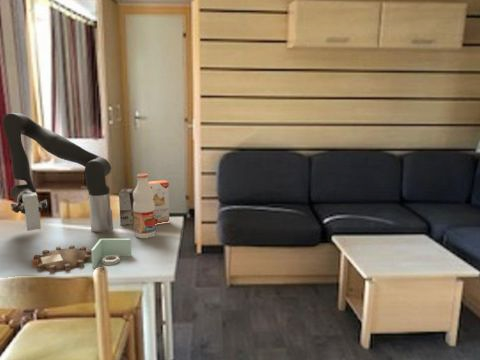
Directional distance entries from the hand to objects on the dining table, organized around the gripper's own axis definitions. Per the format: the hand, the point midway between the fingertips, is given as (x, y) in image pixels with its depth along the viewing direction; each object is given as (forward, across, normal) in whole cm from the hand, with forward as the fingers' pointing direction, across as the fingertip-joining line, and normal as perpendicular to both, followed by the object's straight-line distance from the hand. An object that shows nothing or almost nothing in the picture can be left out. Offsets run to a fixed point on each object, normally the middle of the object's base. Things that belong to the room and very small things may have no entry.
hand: (32, 210), depth 177 cm
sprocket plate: (+14, +8, +18) cm, 24 cm away
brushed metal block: (-3, 0, +8) cm, 8 cm away
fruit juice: (+2, +45, +18) cm, 48 cm away
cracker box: (-11, +54, +18) cm, 58 cm away
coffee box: (-20, +44, +18) cm, 51 cm away
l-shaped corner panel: (+24, +24, +19) cm, 39 cm away
